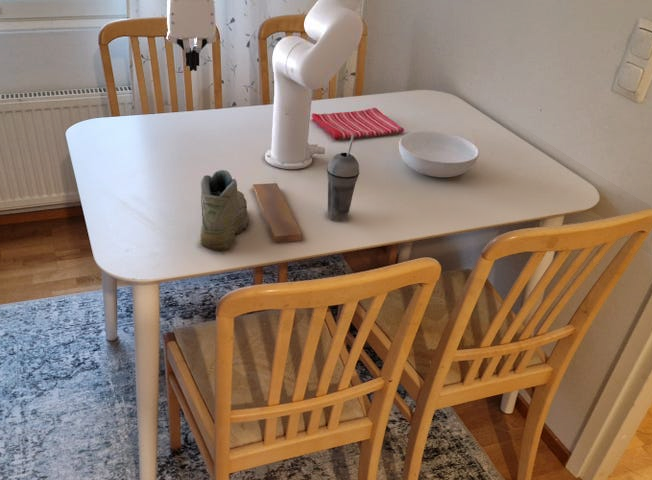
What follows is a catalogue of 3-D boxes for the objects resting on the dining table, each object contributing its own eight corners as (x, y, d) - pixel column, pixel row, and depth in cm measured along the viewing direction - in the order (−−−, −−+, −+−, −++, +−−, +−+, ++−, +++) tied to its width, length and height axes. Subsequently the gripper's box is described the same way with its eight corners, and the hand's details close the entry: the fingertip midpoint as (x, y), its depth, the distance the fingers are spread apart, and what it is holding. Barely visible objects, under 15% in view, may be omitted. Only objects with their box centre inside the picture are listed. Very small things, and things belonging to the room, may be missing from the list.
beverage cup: (319, 208, 149) (328, 127, 137) (350, 208, 150) (361, 128, 138) (323, 224, 143) (333, 141, 131) (355, 224, 144) (367, 142, 132)
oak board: (276, 188, 156) (276, 183, 155) (301, 240, 137) (302, 234, 136) (252, 190, 154) (252, 184, 153) (274, 242, 135) (274, 236, 134)
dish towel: (308, 120, 194) (309, 112, 192) (376, 113, 202) (377, 105, 201) (333, 142, 181) (334, 133, 180) (404, 134, 189) (405, 126, 188)
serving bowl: (487, 171, 172) (493, 147, 168) (446, 195, 159) (452, 170, 155) (422, 146, 183) (427, 123, 179) (379, 166, 170) (383, 142, 166)
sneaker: (267, 215, 144) (264, 154, 135) (226, 258, 129) (219, 192, 121) (226, 207, 148) (220, 147, 139) (181, 247, 133) (171, 183, 125)
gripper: (223, -23, 136) (222, 63, 147) (152, -24, 133) (157, 64, 143) (229, -15, 130) (228, 74, 141) (155, -17, 127) (159, 75, 137)
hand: (192, 68), depth 142 cm, fingers closed
